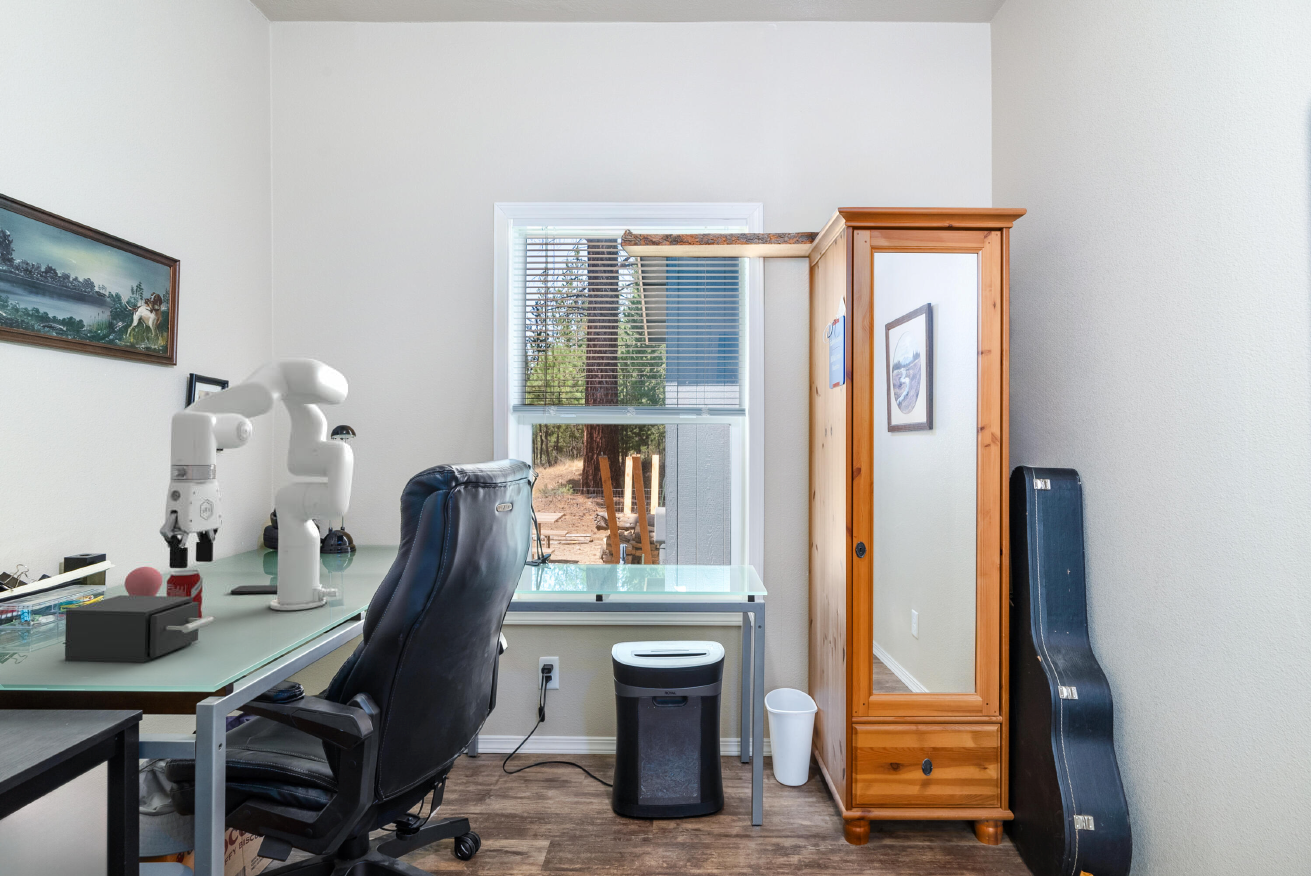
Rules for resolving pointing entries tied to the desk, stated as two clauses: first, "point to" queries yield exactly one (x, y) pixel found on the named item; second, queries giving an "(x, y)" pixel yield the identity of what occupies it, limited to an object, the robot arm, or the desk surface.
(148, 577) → the light bulb
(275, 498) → the robot arm
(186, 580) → the soda can
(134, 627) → the cabinet
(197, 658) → the desk surface
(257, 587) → the phone
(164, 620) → the drawer
